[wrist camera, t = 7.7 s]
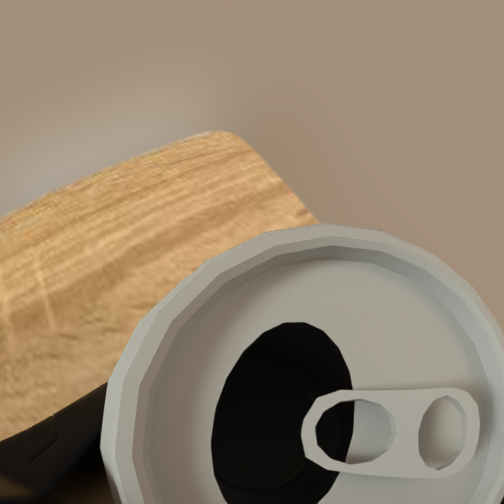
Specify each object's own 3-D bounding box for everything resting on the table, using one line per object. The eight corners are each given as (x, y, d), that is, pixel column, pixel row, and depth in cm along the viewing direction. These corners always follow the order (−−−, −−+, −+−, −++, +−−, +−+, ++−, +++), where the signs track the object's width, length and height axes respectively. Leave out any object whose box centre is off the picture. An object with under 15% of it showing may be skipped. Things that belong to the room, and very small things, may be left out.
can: (197, 342, 15) (169, 141, 5) (343, 373, 15) (527, 244, 5) (159, 485, 11) (20, 589, 1) (318, 513, 11) (505, 600, 1)
